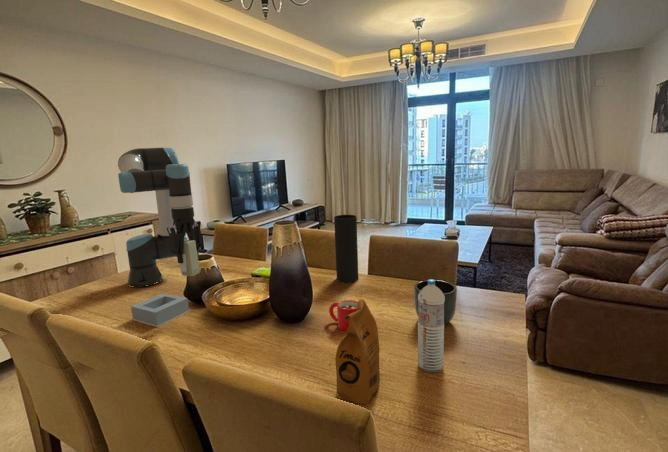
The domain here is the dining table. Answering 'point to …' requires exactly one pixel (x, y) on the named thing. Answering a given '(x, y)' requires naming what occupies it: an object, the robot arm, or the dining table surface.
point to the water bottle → (431, 328)
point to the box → (190, 258)
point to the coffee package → (358, 357)
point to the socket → (160, 309)
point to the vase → (346, 248)
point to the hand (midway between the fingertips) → (189, 268)
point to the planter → (449, 293)
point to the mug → (343, 312)
